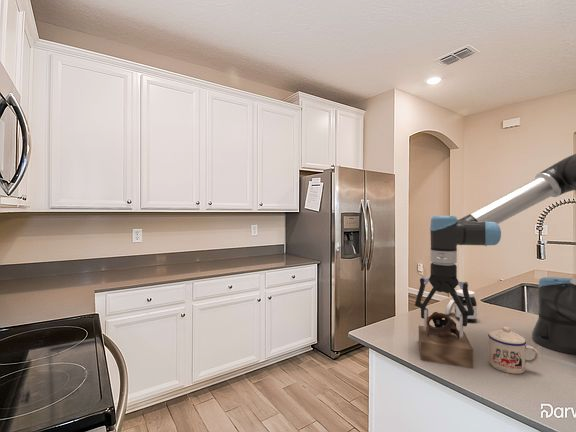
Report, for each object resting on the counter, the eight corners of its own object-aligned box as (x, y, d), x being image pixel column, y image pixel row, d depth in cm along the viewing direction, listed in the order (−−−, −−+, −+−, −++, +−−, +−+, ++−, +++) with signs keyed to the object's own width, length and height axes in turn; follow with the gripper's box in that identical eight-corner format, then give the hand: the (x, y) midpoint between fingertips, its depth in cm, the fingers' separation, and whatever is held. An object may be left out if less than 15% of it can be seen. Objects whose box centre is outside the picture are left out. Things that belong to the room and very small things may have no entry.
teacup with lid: (488, 369, 86) (489, 329, 86) (486, 356, 94) (487, 319, 94) (542, 381, 80) (542, 338, 80) (535, 366, 88) (535, 327, 87)
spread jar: (479, 324, 120) (479, 295, 120) (448, 321, 124) (448, 293, 124) (470, 314, 132) (471, 288, 132) (442, 311, 135) (442, 286, 135)
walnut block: (463, 348, 100) (463, 331, 100) (472, 369, 87) (473, 349, 87) (418, 342, 105) (418, 325, 105) (420, 360, 92) (420, 341, 92)
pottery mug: (468, 344, 91) (459, 323, 89) (438, 355, 92) (429, 335, 90) (448, 320, 102) (441, 301, 100) (422, 329, 104) (414, 311, 102)
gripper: (404, 261, 99) (404, 328, 99) (483, 268, 86) (483, 345, 86) (410, 258, 105) (410, 321, 105) (484, 264, 92) (484, 336, 92)
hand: (443, 331), depth 96 cm, fingers open, 9 cm apart
